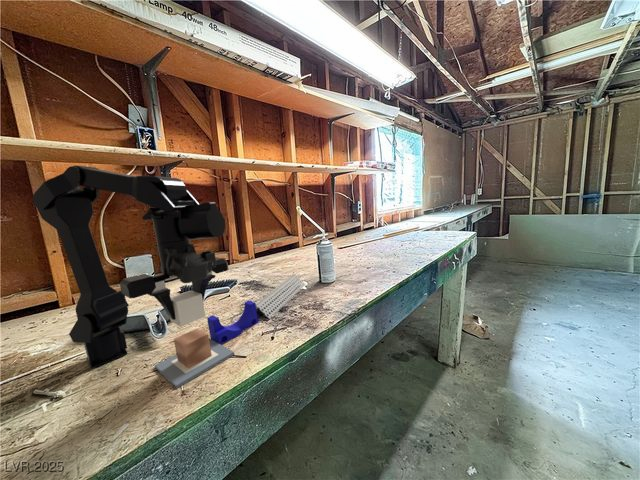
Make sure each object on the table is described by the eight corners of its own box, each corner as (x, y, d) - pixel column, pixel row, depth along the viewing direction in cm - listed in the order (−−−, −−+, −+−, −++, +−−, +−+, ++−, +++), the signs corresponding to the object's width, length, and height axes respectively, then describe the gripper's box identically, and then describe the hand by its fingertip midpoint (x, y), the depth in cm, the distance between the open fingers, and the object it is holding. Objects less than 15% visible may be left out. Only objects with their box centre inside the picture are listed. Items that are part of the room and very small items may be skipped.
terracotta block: (188, 368, 51) (183, 345, 50) (177, 360, 54) (173, 338, 53) (211, 355, 54) (208, 334, 54) (200, 348, 57) (197, 328, 57)
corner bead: (285, 285, 101) (284, 273, 100) (306, 286, 98) (305, 273, 97) (244, 319, 74) (241, 303, 73) (271, 321, 71) (269, 304, 70)
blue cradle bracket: (219, 345, 60) (215, 322, 59) (210, 340, 63) (207, 317, 62) (261, 324, 68) (258, 303, 68) (252, 320, 71) (249, 300, 71)
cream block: (180, 326, 49) (176, 302, 48) (170, 321, 52) (166, 298, 52) (205, 316, 53) (201, 293, 52) (194, 311, 56) (190, 290, 55)
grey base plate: (176, 388, 46) (176, 385, 46) (155, 367, 53) (154, 364, 53) (234, 354, 55) (234, 351, 55) (209, 340, 62) (209, 337, 62)
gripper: (129, 252, 38) (149, 347, 40) (237, 233, 52) (247, 304, 55) (111, 249, 45) (129, 330, 47) (210, 233, 59) (220, 296, 62)
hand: (187, 314), depth 53 cm, fingers closed on cream block, 5 cm apart
